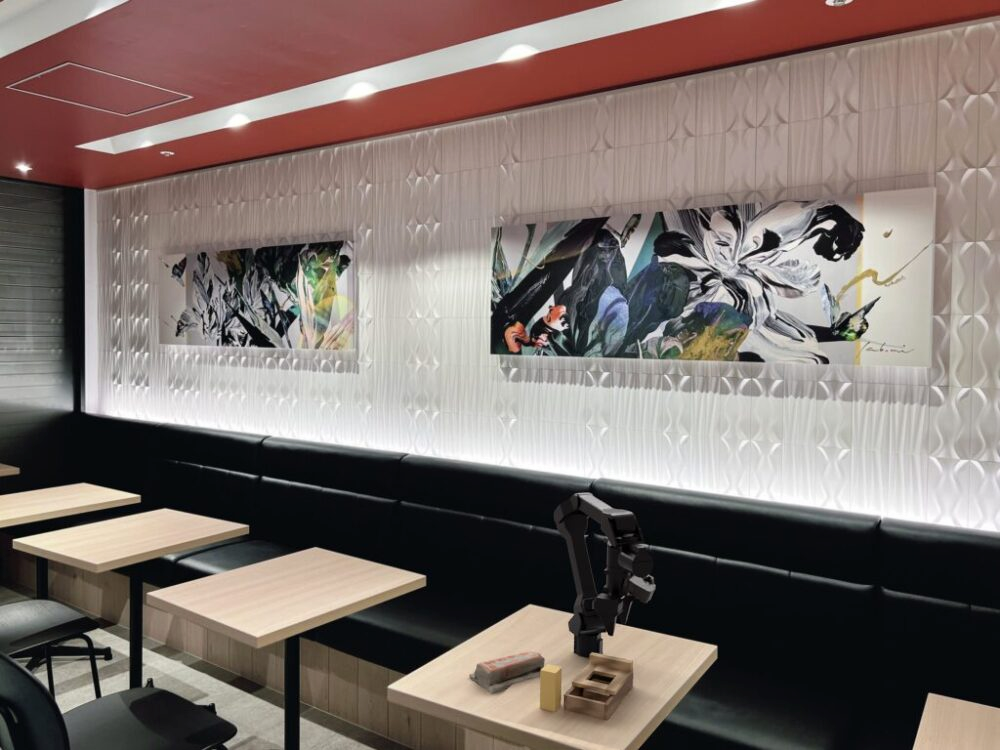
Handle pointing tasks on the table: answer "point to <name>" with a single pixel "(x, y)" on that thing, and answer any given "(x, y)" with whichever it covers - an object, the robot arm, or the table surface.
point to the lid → (605, 673)
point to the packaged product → (508, 670)
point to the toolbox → (595, 698)
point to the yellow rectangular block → (550, 687)
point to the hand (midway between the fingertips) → (617, 629)
